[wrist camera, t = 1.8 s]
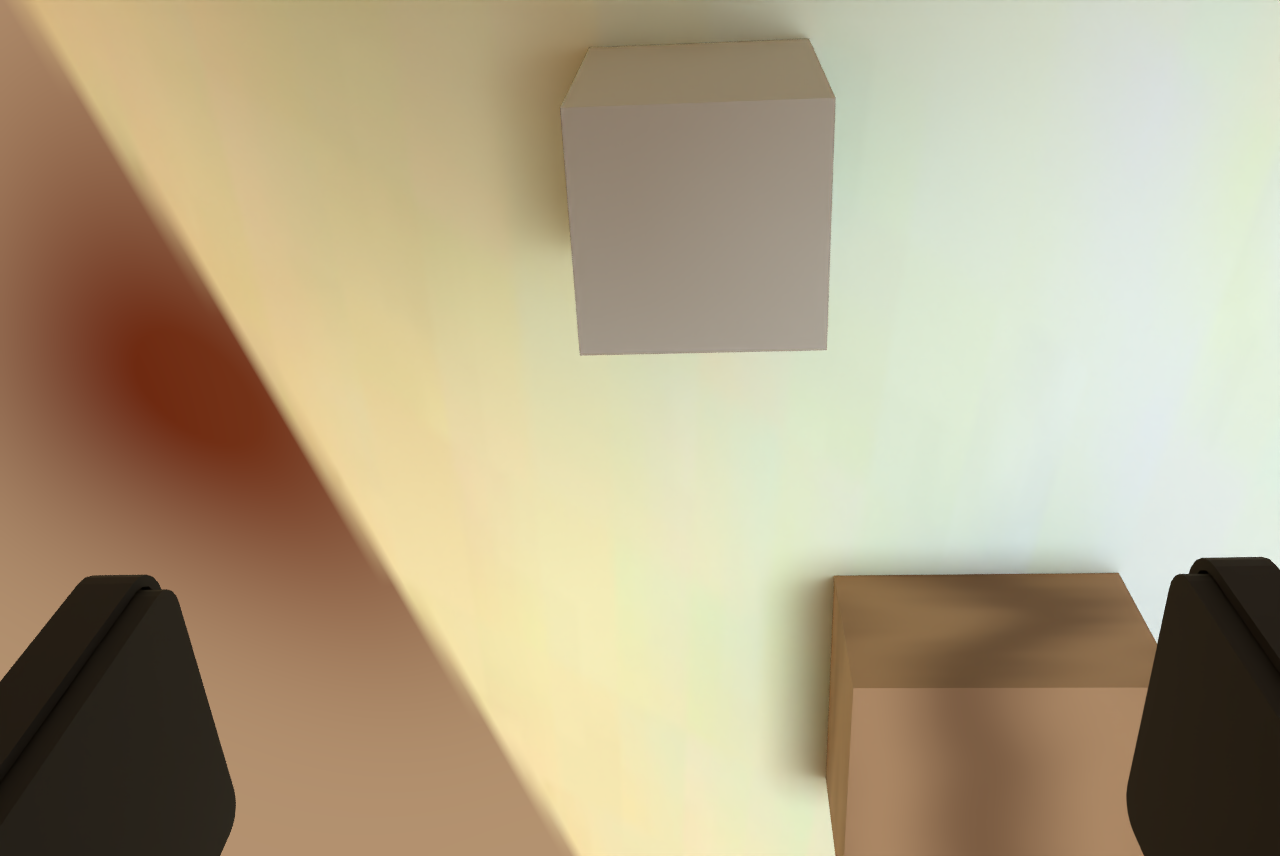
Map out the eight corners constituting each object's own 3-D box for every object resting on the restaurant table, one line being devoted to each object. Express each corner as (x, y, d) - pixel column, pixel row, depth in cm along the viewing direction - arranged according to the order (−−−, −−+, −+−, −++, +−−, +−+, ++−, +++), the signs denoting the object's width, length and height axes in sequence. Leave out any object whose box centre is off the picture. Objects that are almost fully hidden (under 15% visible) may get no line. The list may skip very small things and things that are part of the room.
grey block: (808, 38, 26) (835, 98, 20) (804, 248, 28) (826, 350, 23) (589, 46, 26) (560, 107, 21) (603, 253, 28) (580, 355, 23)
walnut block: (1116, 568, 32) (1181, 687, 28) (1078, 773, 36) (1129, 906, 32) (833, 571, 33) (853, 688, 29) (825, 773, 37) (841, 903, 32)
